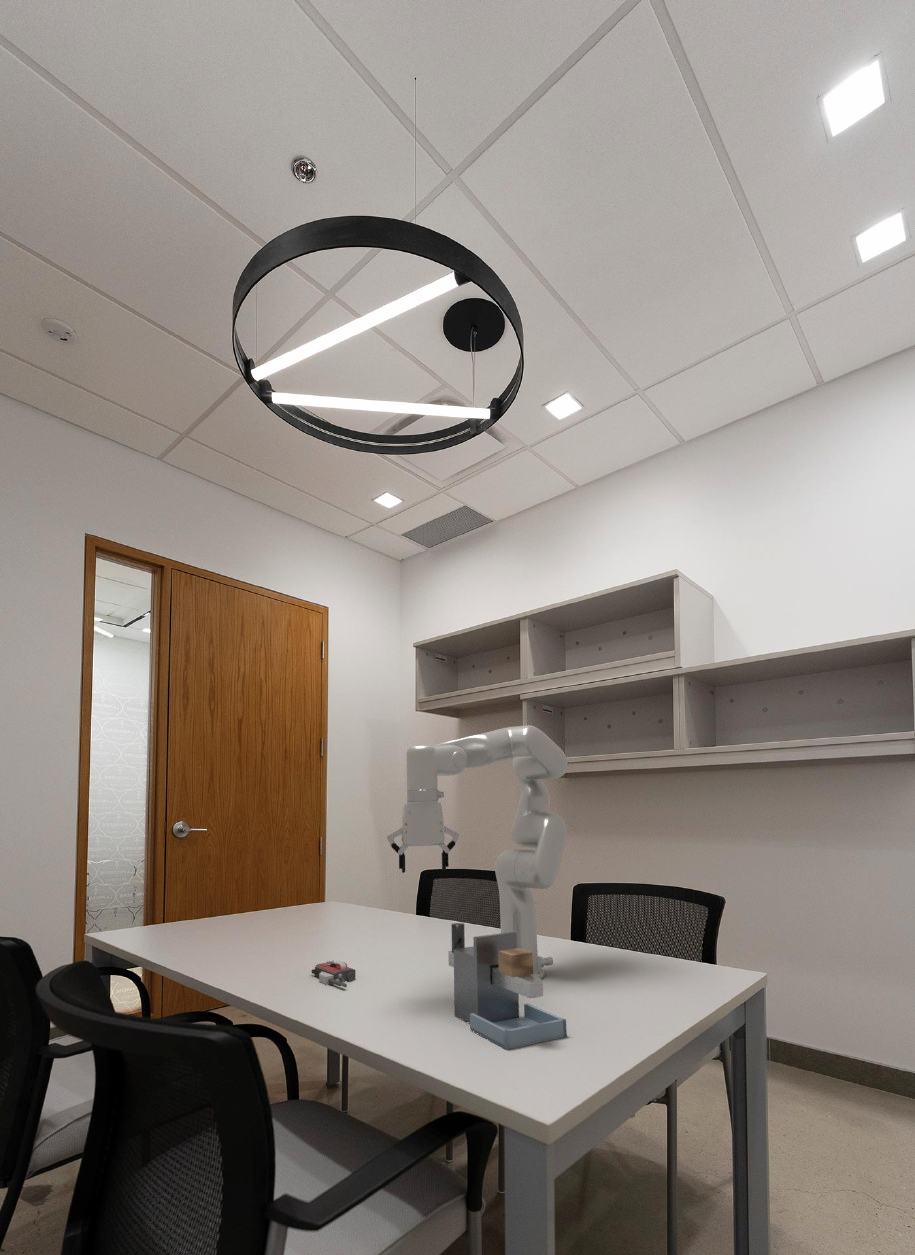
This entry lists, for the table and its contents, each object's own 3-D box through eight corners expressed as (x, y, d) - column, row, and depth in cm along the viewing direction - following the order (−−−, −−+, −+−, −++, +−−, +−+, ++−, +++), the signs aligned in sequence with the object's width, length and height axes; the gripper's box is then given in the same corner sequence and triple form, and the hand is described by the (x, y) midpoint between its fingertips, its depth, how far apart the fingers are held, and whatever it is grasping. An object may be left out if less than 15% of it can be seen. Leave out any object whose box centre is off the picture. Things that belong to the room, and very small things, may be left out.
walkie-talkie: (303, 978, 189) (341, 993, 173) (304, 960, 190) (342, 973, 174) (333, 972, 194) (372, 986, 179) (333, 955, 195) (372, 967, 180)
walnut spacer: (519, 969, 146) (518, 948, 147) (533, 974, 142) (532, 952, 143) (498, 972, 144) (498, 951, 145) (512, 977, 140) (511, 955, 140)
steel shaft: (459, 963, 165) (459, 922, 167) (543, 996, 137) (541, 946, 139) (448, 965, 164) (448, 923, 166) (530, 998, 136) (528, 947, 138)
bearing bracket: (494, 1008, 157) (492, 926, 161) (519, 1020, 149) (516, 932, 153) (454, 1015, 152) (453, 930, 156) (478, 1028, 144) (476, 937, 148)
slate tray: (527, 1019, 149) (527, 1003, 150) (566, 1036, 138) (566, 1019, 139) (470, 1030, 143) (469, 1013, 143) (506, 1049, 131) (505, 1031, 132)
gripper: (456, 796, 177) (458, 868, 173) (386, 798, 175) (387, 871, 171) (459, 796, 170) (461, 871, 166) (386, 798, 168) (387, 874, 164)
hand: (423, 871), depth 168 cm, fingers open, 9 cm apart
